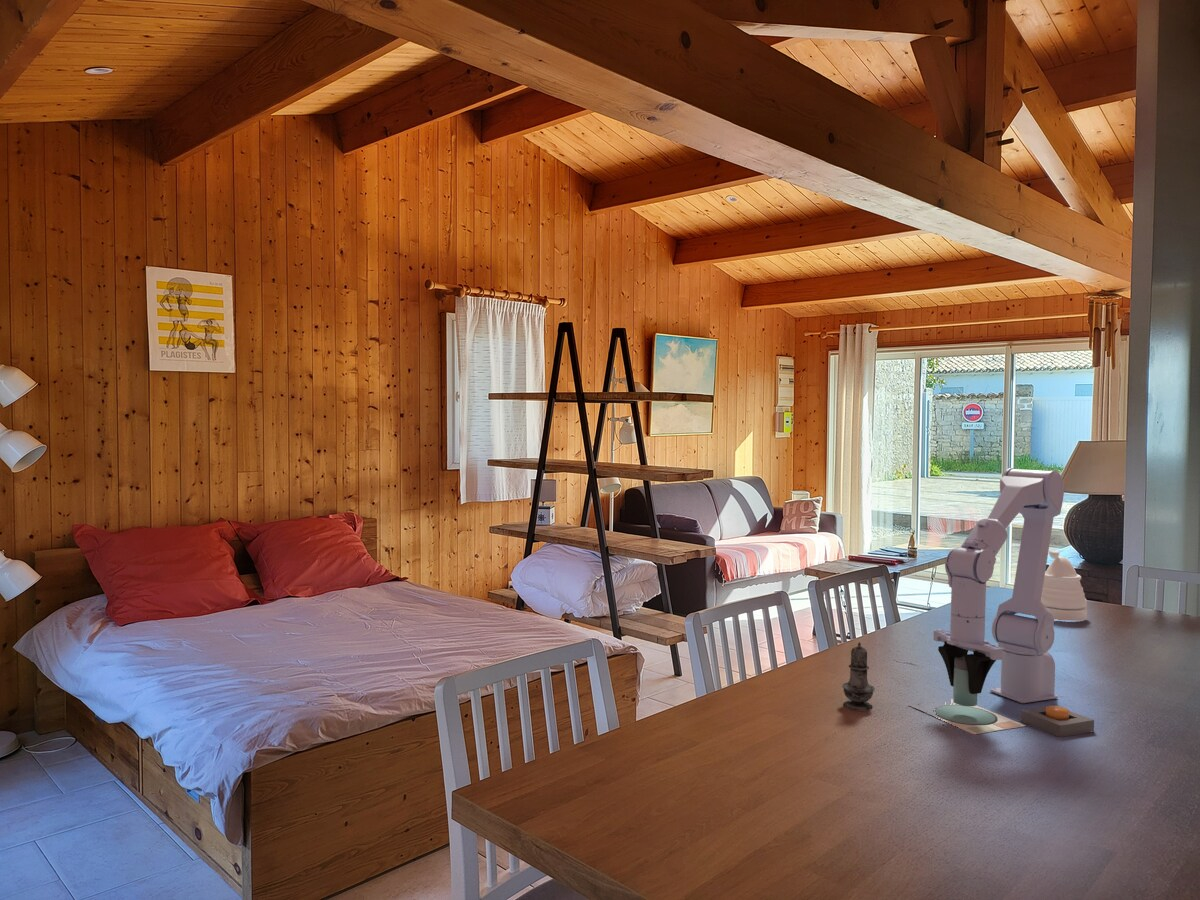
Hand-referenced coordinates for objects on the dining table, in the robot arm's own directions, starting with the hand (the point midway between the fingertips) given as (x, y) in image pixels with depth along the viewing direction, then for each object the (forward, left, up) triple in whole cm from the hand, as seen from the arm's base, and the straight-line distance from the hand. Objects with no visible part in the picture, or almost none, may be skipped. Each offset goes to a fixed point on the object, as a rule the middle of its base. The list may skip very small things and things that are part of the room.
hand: (965, 689), depth 158 cm
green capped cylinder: (0, 0, -2) cm, 2 cm away
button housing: (-11, +10, -5) cm, 16 cm away
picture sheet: (0, 0, -5) cm, 5 cm away
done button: (-11, +10, -3) cm, 15 cm away
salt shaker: (+15, -11, -5) cm, 19 cm away
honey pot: (-86, -53, -5) cm, 101 cm away
